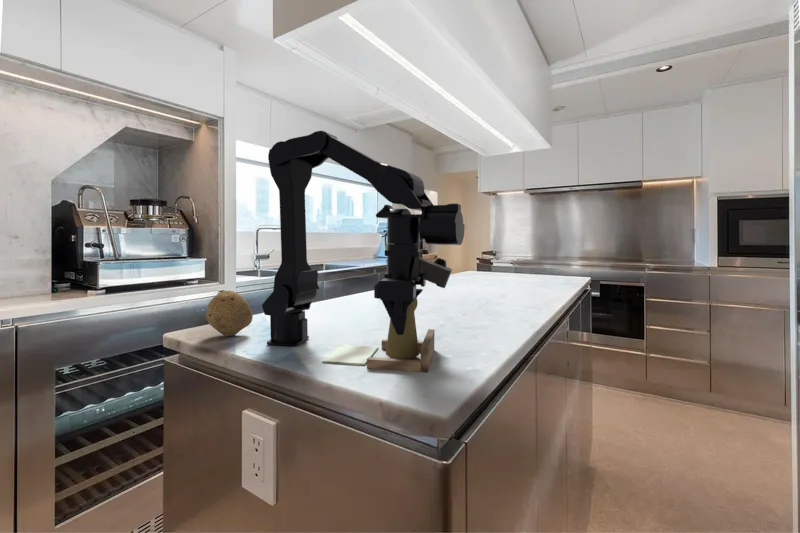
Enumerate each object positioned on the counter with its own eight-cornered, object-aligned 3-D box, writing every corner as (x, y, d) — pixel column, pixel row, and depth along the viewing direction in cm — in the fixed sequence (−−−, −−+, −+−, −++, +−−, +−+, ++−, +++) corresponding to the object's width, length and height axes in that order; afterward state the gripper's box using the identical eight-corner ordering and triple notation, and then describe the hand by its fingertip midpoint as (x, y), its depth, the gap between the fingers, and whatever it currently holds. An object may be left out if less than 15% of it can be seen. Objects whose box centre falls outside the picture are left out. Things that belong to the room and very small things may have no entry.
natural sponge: (196, 337, 82) (195, 291, 81) (233, 328, 89) (232, 286, 88) (222, 343, 77) (221, 294, 76) (259, 334, 85) (258, 289, 84)
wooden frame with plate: (319, 364, 65) (319, 341, 64) (342, 344, 77) (342, 325, 76) (427, 372, 61) (428, 347, 61) (434, 349, 74) (434, 329, 73)
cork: (405, 361, 64) (406, 296, 63) (378, 354, 68) (379, 293, 67) (425, 352, 69) (426, 292, 68) (399, 346, 73) (399, 289, 72)
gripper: (446, 246, 56) (444, 349, 57) (451, 243, 75) (450, 322, 76) (373, 245, 58) (373, 344, 59) (396, 243, 76) (395, 319, 78)
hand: (402, 331), depth 68 cm, fingers closed on cork, 4 cm apart
